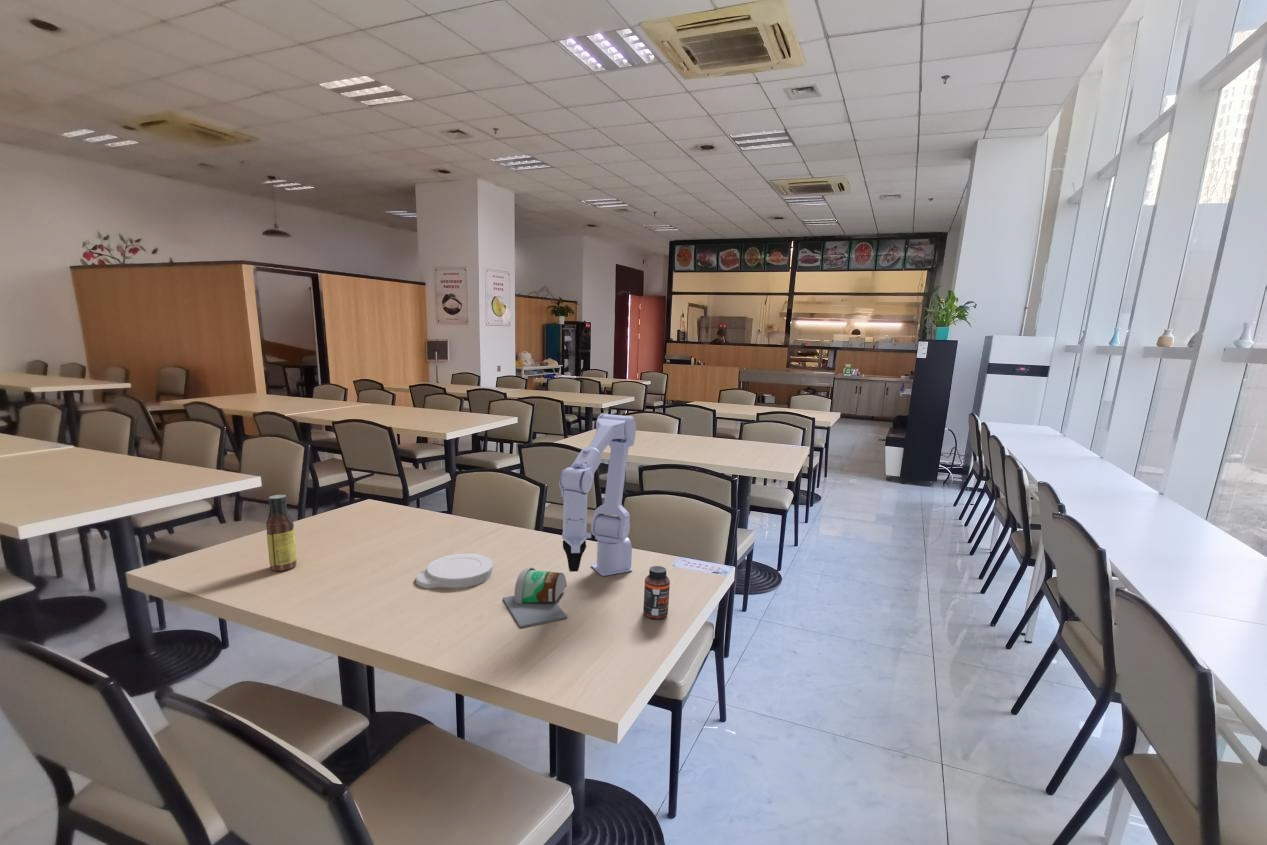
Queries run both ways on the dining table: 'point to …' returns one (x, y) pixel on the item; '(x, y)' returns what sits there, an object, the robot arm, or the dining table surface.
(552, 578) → the food container
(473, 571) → the lid
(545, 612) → the mat
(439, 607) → the dining table surface
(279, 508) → the sauce bottle
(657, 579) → the supplement bottle
